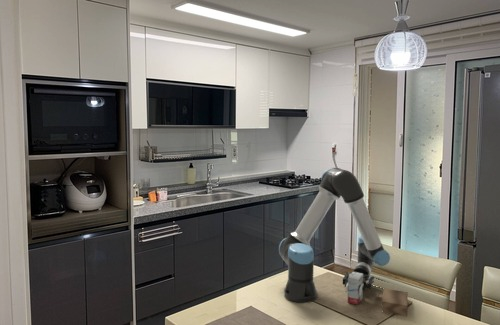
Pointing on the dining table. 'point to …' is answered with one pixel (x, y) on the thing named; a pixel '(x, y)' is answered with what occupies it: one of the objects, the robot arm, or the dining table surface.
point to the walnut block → (395, 302)
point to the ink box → (354, 287)
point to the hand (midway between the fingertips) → (353, 290)
